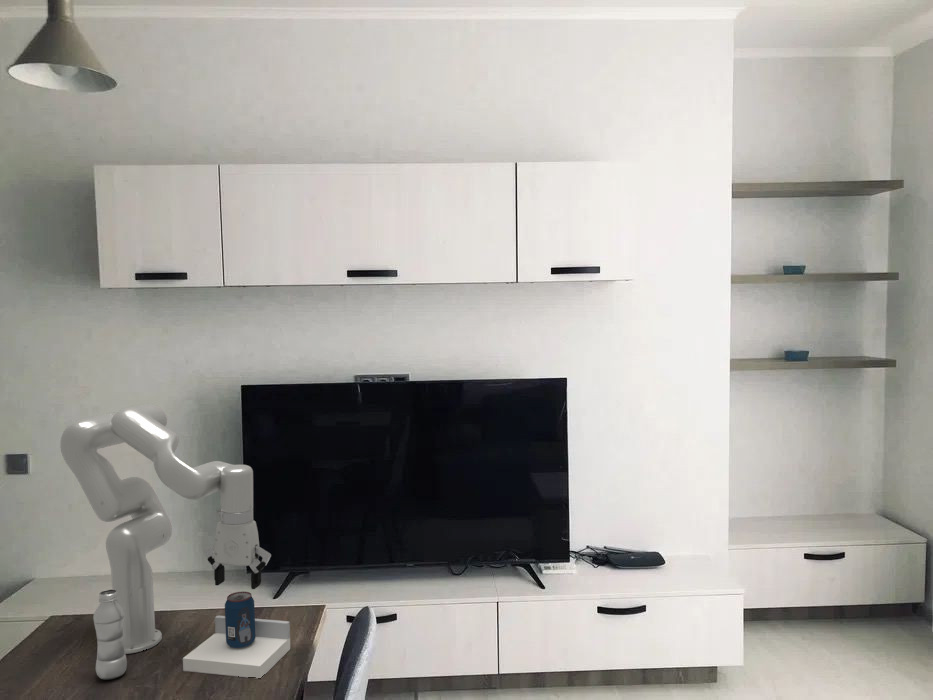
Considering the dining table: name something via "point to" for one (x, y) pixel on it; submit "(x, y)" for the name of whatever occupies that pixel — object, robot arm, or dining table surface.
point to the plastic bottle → (109, 636)
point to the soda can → (240, 620)
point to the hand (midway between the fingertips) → (237, 585)
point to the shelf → (241, 651)
